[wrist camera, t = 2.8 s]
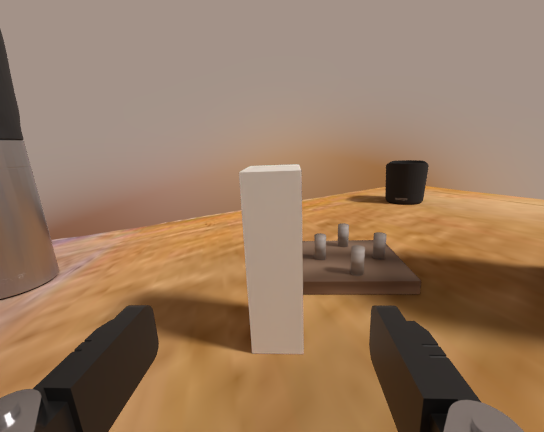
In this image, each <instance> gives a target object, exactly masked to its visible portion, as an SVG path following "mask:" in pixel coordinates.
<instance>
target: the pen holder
mask: <svg viewBox="0 0 544 432" xmlns="http://www.w3.org/2000/svg"><path fill="white" fill-rule="evenodd" d="M427 172H428V164H427V163H426V162H425V161H411V160H410V161H409V160H408V161H392V162H390V163H389V164H387V165H386V200H387V201H388V202H390V203H395V204H419V203H421V202H422V201H423V197H424V191H425V185H426V178H427Z"/></svg>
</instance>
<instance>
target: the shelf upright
mask: <svg viewBox="0 0 544 432" xmlns="http://www.w3.org/2000/svg"><path fill="white" fill-rule="evenodd" d="M239 180H240V194H241V208H242V221H243V235H244V249H245V262H246V276H247V290H248V303H249V317H250V331H251V344H252V353H262V354H304V334H303V256H302V184H301V183H302V178H301V168H300V166H299V164H297V165H296V164H294V165H266V166H249V167H248V168H246V169H244V170H243V171H241V172H239Z"/></svg>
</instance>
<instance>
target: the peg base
mask: <svg viewBox="0 0 544 432" xmlns="http://www.w3.org/2000/svg"><path fill="white" fill-rule="evenodd" d="M348 235H349V225H348V224H339V225H338V241H326V235H325V234H315V241H302V256H303V294H420V288H421V280H420V279H419V278H418V277H417V276H416V275H415V274H414V273H413V272H412V271H411V270H410V269H409V268H408V267H407V265H406V264H405V263H404V262H403V261H402V260H401V259H400V258H399V257H398V256H397V255H396V254H395V253H394V252H393V251H392V250H391V249H390V248H389V246H388V245H387V244H386V234H385V233H374V240H358V241H348Z"/></svg>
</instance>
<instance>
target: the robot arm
mask: <svg viewBox="0 0 544 432" xmlns="http://www.w3.org/2000/svg"><path fill="white" fill-rule="evenodd" d="M22 140H23V136H22V132H21V127H20V116H19V110H18V106H17V101H16V97H15V93H14V88H13V84H12V79H11V74H10V69H9V64H8V59H7V54H6V49H5V45H4V40H3V37H2V34H1V30H0V299H2V298H6V297H10V296H13V295H17V294H20V293H23V292H26V291H28V290H31V289H33V288H36V287H38V286H40V285H42V284H44V283H46V282H48V281H50V280H51V279H53V278H54V277H55V276H56V275H57V274H58V273H59V268H58V264H57V260H56V257H55V253H54V249H53V246H52V241H51V238H50V234H49V231H48V227H47V223H46V220H45V216H44V212H43V209H42V205H41V202H40V198H39V194H38V191H37V187H36V183H35V180H34V176H33V172H32V169H31V166H30V162H29V158H28V155H27V151H26V148H25V144H24V141H22ZM158 344H159V343H158V335H157V330H156V324H155V319H154V313H153V309H152V307H151V306H149V305H130V306H127V307H126V308H125V309H124V310H123V311H121V312H120V313H119V314H118V315H117V316H116V317H115V318H114V319H113V320H111V321H109V322H107V323H106V324H104V325H102V326H101V327H99V328H97V329H96V330H95V331H94V332H93V333H92V334H91V335H90V336H89V337H88V338H86V339H85V342H82V343H81V344H80V345H79V346H78V347H77V348H76V349H75V351H74V352H72V353H70V354H69V355H68V356H67V357H66V358H65V359H64V360H63V361H62V362H61V363H60V364H59V365H58V366H57V367H56V368H54V369H53V370H52V371H51V372H50V373H49V374H48V375H47V376H46V377H45V378H44V379H43V380H42V381H41V382H40V383H39V384H37V385H36V386H35V387H34V388H33V389H25V390H20V391H16V392H14V393H11V394H8V395H6V396H4V397H2V398H0V432H108V431H109V430H110V428H111V427H112V425H113V423H114V422H115V420H116V419H117V417H118V416H119V414H120V413H121V411H122V409H123V408H124V406H125V405H126V403H127V402H128V400H129V398H130V397H131V395H132V394H133V392H134V391H135V389H136V388H137V386H138V384H139V383H140V381H141V380H142V378H143V377H144V375H145V374H146V372H147V370H148V369H149V367H150V366H151V364H152V363H153V361H154V359H155V357H156V355H157V351H158ZM369 345H370V355H371V360H372V363H373V366H374V369H375V371H376V374H377V377H378V379H379V382H380V385H381V387H382V390H383V393H384V395H385V398H386V401H387V403H388V406H389V409H390V411H391V414H392V417H393V419H394V422H395V425H396V427H397V430H398V432H524V431H523V430H522V429H521V428H520V427H519V426H518V425H517V424H516V423H515V422H514V421H513V420H512V419H510V418H509V417H508V416H506V415H505V414H504V413H502V412H500V411H499V410H497V409H495V408H493V407H491V406H489V405H487V404H484V403H481V401H480V400H479V399H478V397H477V396H476V395H475V393H474V392H473V391H472V389H471V388H470V386H469V385H468V384H467V382H466V381H465V380H464V378H463V377H462V376H461V374H460V373H459V372H458V370H457V369H456V368H455V366H454V365H453V364H452V362H451V361H450V360H449V358H447V357H446V354H445V353H444V351H443V350H442V349H441V347H439V346H438V343H437V342H436V341H435V339H434V338H433V337H432V335H431V334H430V333H429V331H427V330H426V329H424V328H423V327H422V326H420V325H419V324H418V323H416V322H415V321H406V320H405V318H404V317H403V315H402V314H401V312H400V311H399V309H398V308H397V307H396V306H372V309H371V323H370V343H369Z"/></svg>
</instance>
